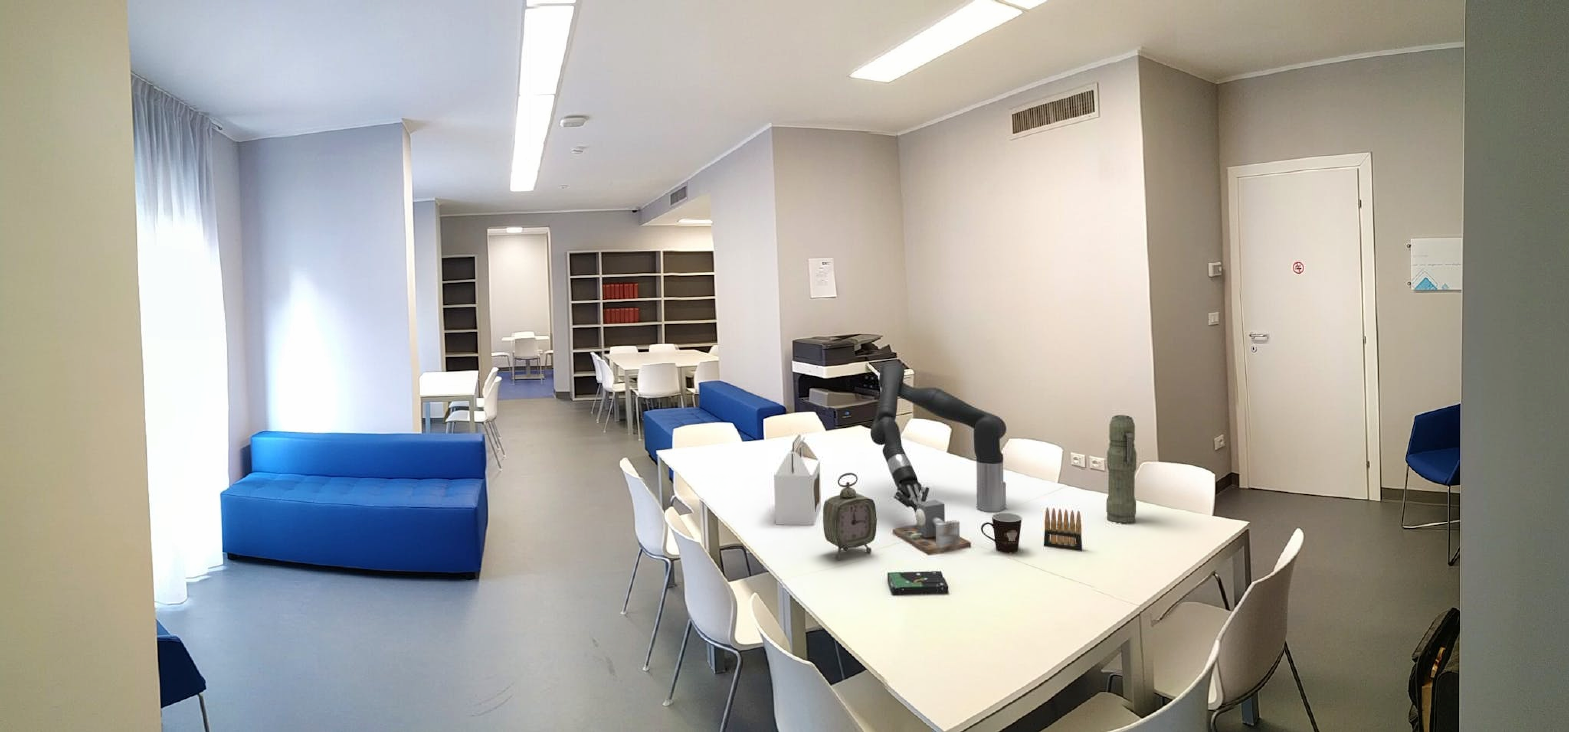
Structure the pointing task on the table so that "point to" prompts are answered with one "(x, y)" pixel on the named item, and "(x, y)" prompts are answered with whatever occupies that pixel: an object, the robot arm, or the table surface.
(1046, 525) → the ammunition clip
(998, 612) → the table surface
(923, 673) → the table surface
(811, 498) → the gable box
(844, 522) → the tabletop clock
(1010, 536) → the coffee mug
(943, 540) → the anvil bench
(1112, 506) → the thermos
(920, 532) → the block
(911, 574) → the disk drive
